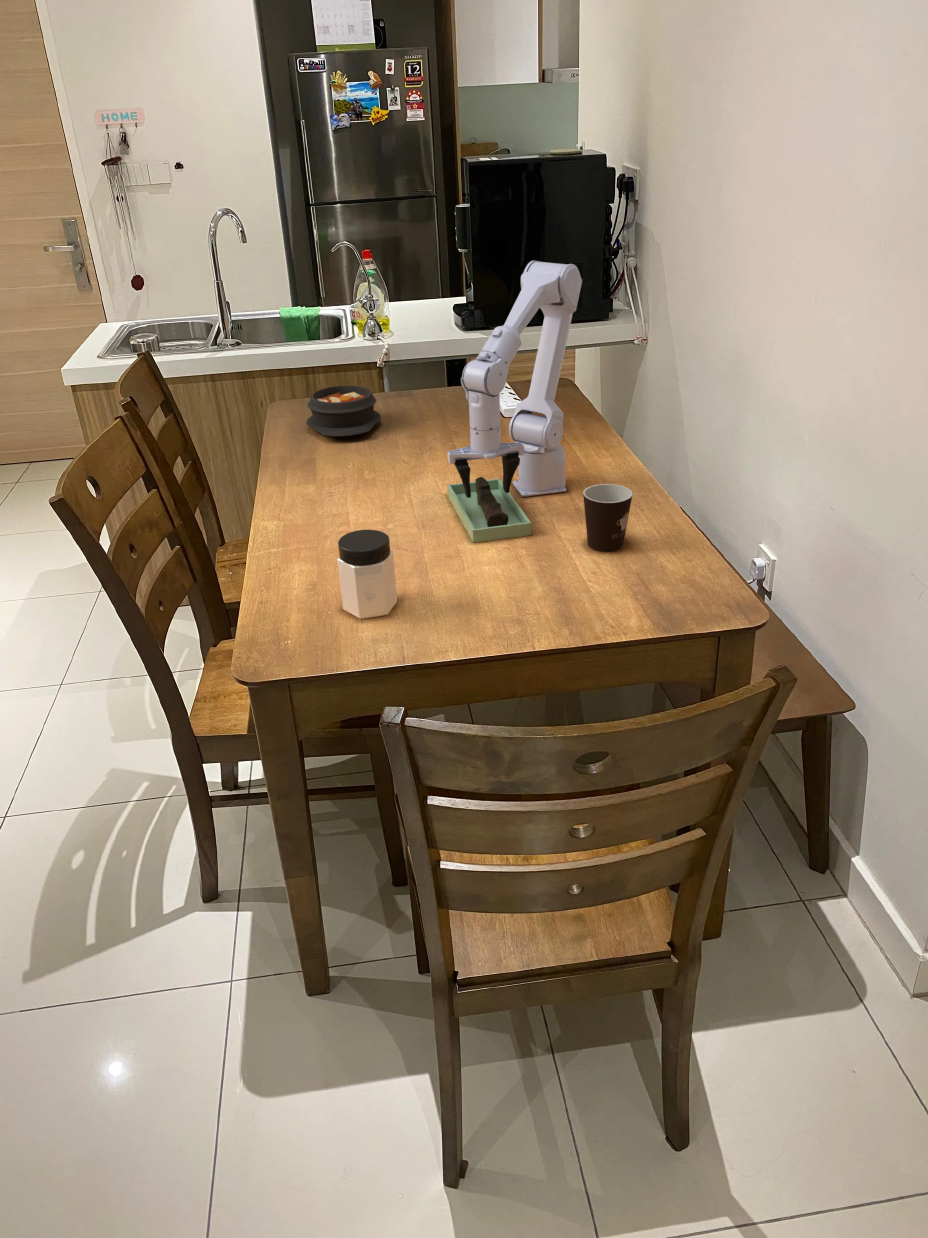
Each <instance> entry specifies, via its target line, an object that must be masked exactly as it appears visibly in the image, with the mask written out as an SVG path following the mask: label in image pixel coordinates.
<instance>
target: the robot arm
mask: <svg viewBox="0 0 928 1238" xmlns="http://www.w3.org/2000/svg"><path fill="white" fill-rule="evenodd" d="M582 285H583V279H582V277H581V273H580V271H579V268H578V266H577V265H575V264H573V263H569V264H565V263H558V262H557V263H555V262H545V261H539V260H531V261H529V262H528V263H527V264H526V266H525V268H524V270H523V272H522V274H521V276H520V289H521V290H520V291H519V294H518V296H517V298H516V299H515V301H514V303H513V306H512V308H511V310H510V312H509V314H508V316H507V318H506V320H505V322H504V324H503V325H500V326H496V327H495V328H494V329H493V331H492V332H491V334H490V335H489V336H488V338H487V340H486V342H485V344H483V345H484V346H483V347H482V349H481V350H480V352H479V354H478V355H477V357H476V359H472V360H470V361H469V362H468V363H466V364H465V366H464V368H463V370H462V374H461V378H460V384H461V386H462V388H463V390H464V392H465V399H466V400H467V402H468V416H469V419H468V420H469V441H470V445H468V446H464V447H460V448H457V449H456V448H455V449H452V450H447V451H446V452H447V462H448V463H449V464H450V465H452V464H453V465H454V466H455V469H456V470H457V473H458V475H459V477H460V480H461V483H463V486H464V491H465V495H466V497H467V498H471V489H470V482H471V467H470V464H469V462H468V461H476V460H483V459H484V460H491V459H496V458H499V457H501V464H502V482H503V489H504V491H505V492H506V493H509V492H510V490H511V486H512V485H513V486H514V488H515V489H516V490H517V492H518V493H519V494H520V496H522V497H532V496H540V495H548V494H549V495H550V494H556V493H557V494H558V493H563V492H564V493H565V492H567V487H566V480H567V479H566V476H567V475H566V474H567V459H566V458H567V457H566V453H565V452H566V451H565V448H564V447H563V445H562V444H560V443H561V441H562V439H563V435H564V427H563V422H564V416H565V414H564V412H563V411H562V409H561V408H560V407H559V406H558V404H557V403H556V402H555V400H556V399H555V398H556V394H557V388H558V384H559V380H560V375H561V371H562V366H563V361H564V356H565V351H566V347H567V342H568V338H569V333H570V327H571V325H572V319H573V314H574V313H575V312H576V311H577V309H578V302H579V298H580V293H581V288H582ZM539 309H540V310H541V311H542V313H543V317H544V318H543V323H542V326H541V327H542V328H541V332H540V337H539V343H538V347H537V351H536V355H535V361H534V365H533V371H532V376H531V381H530V386H529V390H528V395H527V397H525V398H524V399H523V400H521V401H520V402H518V403H517V404H516V405H515V410H514V413H513V415H512V417H511V419H510V421H509V425H508V434H509V437H510V439H511V441H512V442H502V440H501V438H502V436H501V433H502V432H501V400H500V399H501V398H500V397H501V396H500V395H501V394H500V393H502V391H504V389H505V387H506V384H507V378H508V374H509V370H510V369H509V367H510V365H511V363H512V361H513V359H514V358H515V356H516V355H517V354H518V351H519V349H520V348H521V346H522V340H521V334H522V333H523V331H525V329H526V327H527V326H528V324H529V323H530V322H531V320H532V319H533V318H534V316H535V315H536V314H537V312H538V310H539ZM535 413H539V414H535ZM540 414H542V415H540ZM517 470H518V471H517ZM516 471H517V473H518V474H517V475H518V477H517V480H513V478H514V475H515V474H516Z"/></svg>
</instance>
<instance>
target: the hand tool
mask: <svg viewBox="0 0 928 1238" xmlns="http://www.w3.org/2000/svg"><path fill="white" fill-rule="evenodd" d="M486 480H487V479H486V478H485V477H483V476H479V477H477V478H475V480H474V482H476V493H477V501H478V505H480V506H481V509H482V511H483V513H484V515H485V519H486V520H487V525H488V527H494V526H502V525H507V523H508V520H509V518H508V515H507V514H505V513H503V512H502V510H501V505H500V503H497V501H496V499H495V498H494V496H493V494H492V493H491V490H490V485H489V484H488V481H486Z"/></svg>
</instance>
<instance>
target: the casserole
mask: <svg viewBox="0 0 928 1238" xmlns="http://www.w3.org/2000/svg"><path fill="white" fill-rule="evenodd" d="M309 398H310V399H309V401H308V403H307V408H308V409H309V411H310V412H311V415H310V416H309V417H308V418H307V420H306V425H307V427H308V428H310V429H312V430H314V431H317V433H320V434H321V435H322V436H324V437H332V438H333V437H335V438H336V437H351V436H357V435H358V436H359V435H361V434H365V433H368V432H370V431H371V430H372V429H373V428H374V426H375V425H376V424H378V423H379V422H380V421H381V419H382V415H381V413H380V412H378V411H377V410H375V405H376V403H377V398H376V397H375V396H374V394H373V392H372V390H371V389H370V388H368V387H364V386H360V385H336V386H330V387H324V388H322V389H319V390H316V391H314V392H313V393H312V394H311V395H310V397H309Z"/></svg>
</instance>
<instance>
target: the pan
mask: <svg viewBox="0 0 928 1238" xmlns="http://www.w3.org/2000/svg"><path fill="white" fill-rule="evenodd" d="M486 481H488V484H489V485H490V490H491V493H492V494H493V496H494V498H495V499H496V501H497V503H500V505H501V510H502V512H503V513H505V514H507V515H508V518H509V520H508V523H507V525H502V526H494V527H488V525H487V520H486V519H485V515H484V513H483V511H482V509H481V506H480V505H478V501H477V493H476V482H475V481H470V489H471V498H467V497H466V495H465V491H464V486H463V483H462V482H459V483H451V484H446V489H447V491H446V492H447V498H448V499H449V501H450V503H451V505H452V506H453V508H454V510H455V512H456V514H457V516H458V518H459V520H460V522H461V524H462V525H463V527H464V529H465V531H466V532H467V534H468V536H469V538H470V539H471V541H472V543H481V542H489V541H490V542H491V541H496V540H503V539H504V540H505V539H512V538H520V537H528V536H532V522H531V520H530V519H529V518H528V516H527V515H526V513H525V512H524V510H523V509H522V507H521V506H520V505H519V503H518V502H517V500H516V499H515V498H514V496H513V494H512V493H511V492H510V491H509V493H506V492H505V491H504V489H503V480H502V479H501V478H493V479H486Z"/></svg>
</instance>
